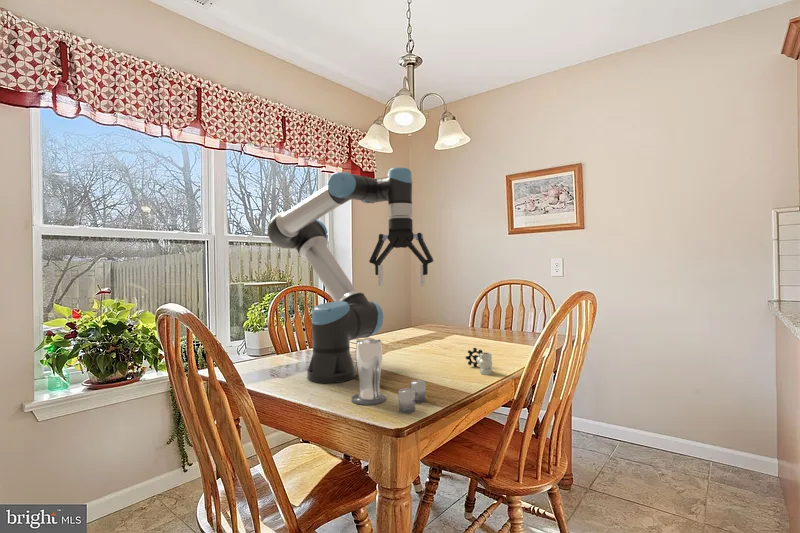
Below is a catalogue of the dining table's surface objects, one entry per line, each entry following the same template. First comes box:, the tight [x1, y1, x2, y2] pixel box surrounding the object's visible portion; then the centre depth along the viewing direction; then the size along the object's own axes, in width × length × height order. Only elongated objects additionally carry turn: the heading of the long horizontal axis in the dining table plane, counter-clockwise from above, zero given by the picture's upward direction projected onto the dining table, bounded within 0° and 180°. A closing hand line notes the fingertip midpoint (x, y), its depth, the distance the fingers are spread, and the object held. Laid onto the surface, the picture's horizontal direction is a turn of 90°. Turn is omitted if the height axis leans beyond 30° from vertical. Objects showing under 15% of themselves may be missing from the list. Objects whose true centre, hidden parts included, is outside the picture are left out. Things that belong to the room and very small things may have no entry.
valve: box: [465, 347, 493, 376], centre depth 145 cm, size 7×7×12 cm
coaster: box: [350, 393, 386, 406], centre depth 116 cm, size 9×9×1 cm
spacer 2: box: [409, 379, 427, 404], centre depth 115 cm, size 4×4×5 cm
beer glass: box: [355, 338, 383, 401], centre depth 116 cm, size 7×7×15 cm
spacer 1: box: [397, 387, 416, 415], centre depth 107 cm, size 4×4×5 cm
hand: (401, 285), depth 138 cm, fingers open, 13 cm apart
